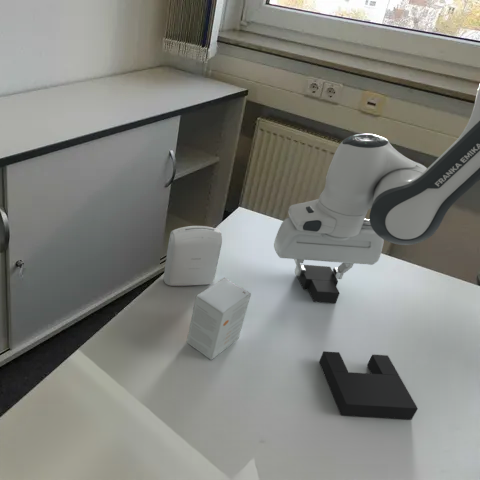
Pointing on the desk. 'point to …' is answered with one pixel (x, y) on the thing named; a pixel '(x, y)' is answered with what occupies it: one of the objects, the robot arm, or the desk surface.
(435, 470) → the desk surface
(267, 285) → the desk surface
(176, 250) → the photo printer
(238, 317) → the small box
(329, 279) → the black block
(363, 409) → the black notched block
